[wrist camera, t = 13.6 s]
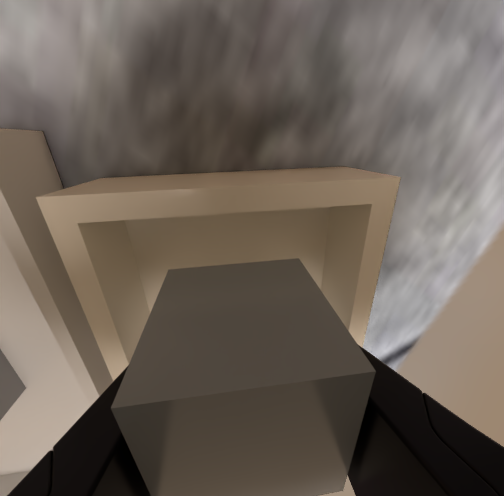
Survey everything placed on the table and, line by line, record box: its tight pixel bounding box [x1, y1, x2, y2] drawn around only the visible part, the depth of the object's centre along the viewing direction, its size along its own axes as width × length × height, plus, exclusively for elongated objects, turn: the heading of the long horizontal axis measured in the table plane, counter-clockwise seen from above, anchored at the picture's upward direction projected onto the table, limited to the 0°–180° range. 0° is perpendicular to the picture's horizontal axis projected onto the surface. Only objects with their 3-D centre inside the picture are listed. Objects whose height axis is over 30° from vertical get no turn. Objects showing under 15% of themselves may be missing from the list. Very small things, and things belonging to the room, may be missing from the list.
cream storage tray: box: [36, 166, 401, 381], centre depth 11 cm, size 11×14×4 cm
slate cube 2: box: [111, 258, 376, 496], centre depth 6 cm, size 4×4×4 cm
